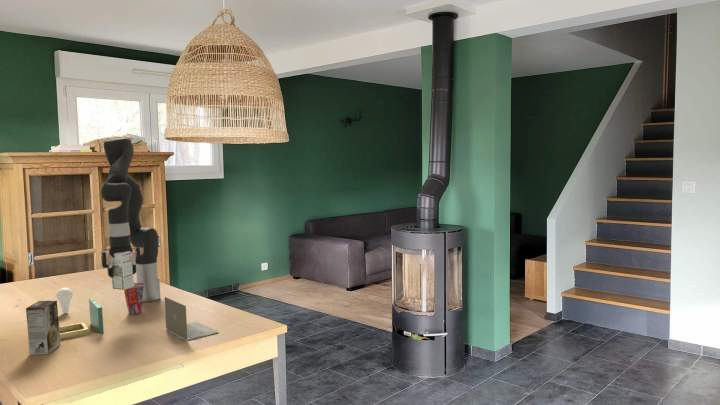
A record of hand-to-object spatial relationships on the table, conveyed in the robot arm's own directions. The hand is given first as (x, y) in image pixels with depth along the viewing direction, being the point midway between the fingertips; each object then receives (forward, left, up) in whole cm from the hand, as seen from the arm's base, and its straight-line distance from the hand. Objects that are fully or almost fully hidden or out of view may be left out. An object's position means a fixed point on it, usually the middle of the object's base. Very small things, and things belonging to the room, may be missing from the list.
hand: (122, 275), depth 214 cm
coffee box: (+29, +14, -19) cm, 38 cm away
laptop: (-17, +28, -20) cm, 38 cm away
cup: (-7, -13, -19) cm, 24 cm away
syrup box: (0, 0, -5) cm, 5 cm away
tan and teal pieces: (+17, 0, -19) cm, 26 cm away
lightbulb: (+16, -32, -19) cm, 41 cm away
